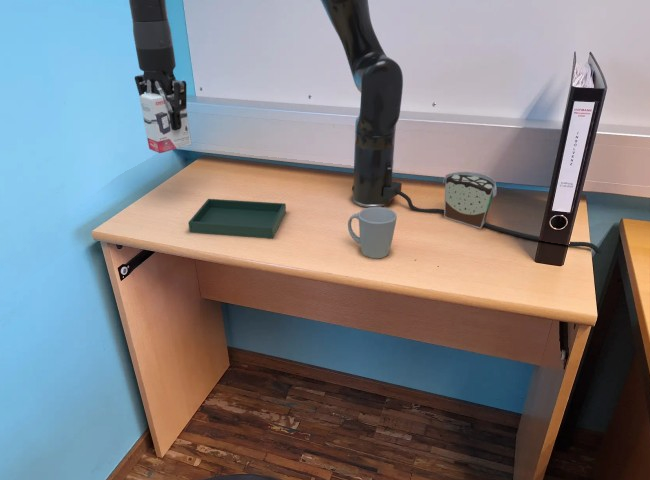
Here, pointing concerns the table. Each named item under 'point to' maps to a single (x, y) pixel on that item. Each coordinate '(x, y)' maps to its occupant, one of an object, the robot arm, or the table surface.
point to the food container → (468, 197)
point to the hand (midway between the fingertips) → (167, 127)
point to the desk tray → (238, 218)
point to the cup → (374, 231)
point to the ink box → (163, 124)
